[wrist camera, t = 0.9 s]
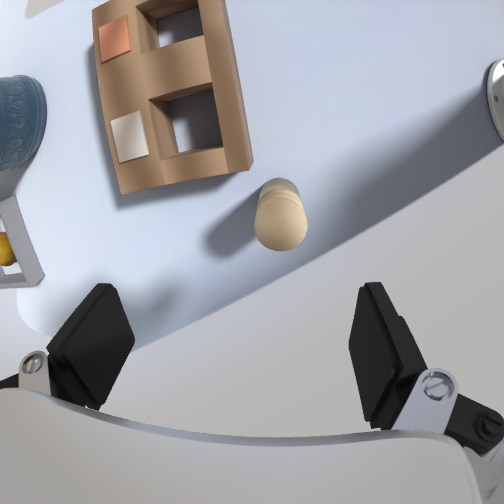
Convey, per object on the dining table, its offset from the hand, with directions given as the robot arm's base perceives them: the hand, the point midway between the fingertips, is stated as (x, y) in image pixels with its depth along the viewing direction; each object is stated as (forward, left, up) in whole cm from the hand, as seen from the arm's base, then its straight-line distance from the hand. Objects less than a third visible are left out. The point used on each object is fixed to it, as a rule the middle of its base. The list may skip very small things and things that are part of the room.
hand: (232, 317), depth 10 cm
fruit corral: (+43, 0, -20) cm, 48 cm away
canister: (+30, -17, -20) cm, 40 cm away
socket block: (+6, -13, -20) cm, 24 cm away
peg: (-2, +1, -20) cm, 20 cm away
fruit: (+45, 0, -20) cm, 49 cm away
